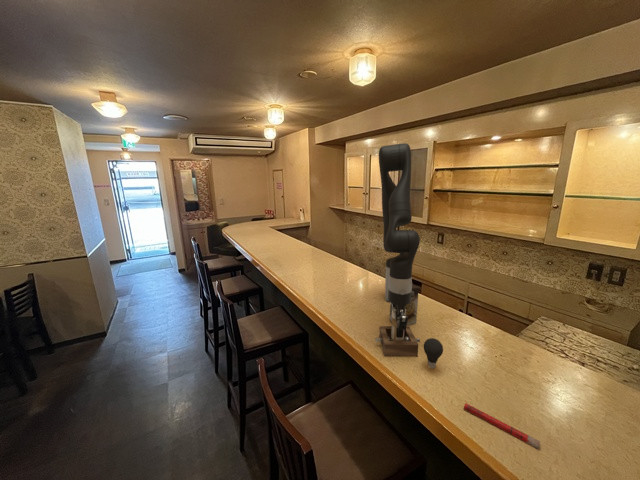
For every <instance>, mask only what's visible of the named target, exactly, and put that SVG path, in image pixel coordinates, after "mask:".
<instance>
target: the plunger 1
mask: <svg viewBox="0 0 640 480" xmlns="http://www.w3.org/2000/svg"><path fill="white" fill-rule="evenodd" d="M388 339H389V341H391V339H390V337H388ZM374 341H375V342H380V343H381V342H383V338H379V337H375V339H374Z"/></svg>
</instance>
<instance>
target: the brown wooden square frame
mask: <svg viewBox="0 0 640 480" xmlns="http://www.w3.org/2000/svg"><path fill="white" fill-rule="evenodd" d="M391 329H392V325H379V328H378V330H379V332H378V338H383V342H380V345H381V348H382V351H383V352H382V353H383V355H384V357H414V358H416V357H418V355H419V342H417V341H416V339H415V338H416V337H415V335H414V332H413V331H412V328H411V327H410V325H407V326H406V330H404V338H405V337H406V336H408V337H409V339H410V340H409V341H389V339H388V337H390V339H391Z"/></svg>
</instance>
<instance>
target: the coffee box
mask: <svg viewBox="0 0 640 480" xmlns="http://www.w3.org/2000/svg"><path fill="white" fill-rule="evenodd" d="M419 288H420V287H419V286H417V285H415V284H414V283H412V292H411V302H410V304H408V305H406V306H405V308H406V316H408V321H407V326H410V325H415V324H417V317H418V315H417V314H418V304H419V303H418V302H419V291H420V289H419ZM391 312H392V308H391V302H389V318H388V319H389V320H390V322H391V323H392V313H391Z"/></svg>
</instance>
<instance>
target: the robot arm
mask: <svg viewBox="0 0 640 480" xmlns="http://www.w3.org/2000/svg"><path fill="white" fill-rule="evenodd" d="M378 166H379V174H380V176H379V177H380V182H381V184H380V185H381V206H382V221H383V222H382V223H383V242H382V243H383V249H384V251H385V252H387V253H395V254H397V255H396V256H393V257H389V258H387V259H386V261H385V285H384V288H385V289H384V299H385V301H386V302H387V303H390V302H391V308H392V311H393V310H394V313H395V321H396V337H397V338H402V337H403V330H406V326H408V325H407V321H408V316H406V308H405V306H406V305H408V304H410V302H411V292H412V284H413V281H412V280H413V279H412V275H413V263H414V260H415V257H416V254H417V252H418V250H419V246H420V243H421V241H420V240H421V239H420V237H421V236H420V235H419V233H418V232H417V231H416V230H414V229H401V230H400V229H398V230H397V228H398V227H402V226H406V225H409V224H410V223H411V222H412V217H413V216H412V206H411V184H412V183H411V181H412V150H411V146H410V145H409V143H407V142H405V143H397V144H396V143H394V144H388V145H382V146H381V147H380V148H379V151H378ZM399 171H401V176H400V178H399V181H398V182H397V184H395V183H394V181H393V179H392V178H391V177H392V176H391V175H390V172H399ZM391 313H392V312H391ZM397 317H399V319H397Z"/></svg>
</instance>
